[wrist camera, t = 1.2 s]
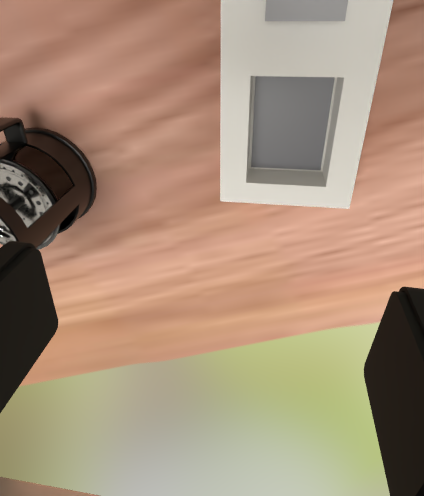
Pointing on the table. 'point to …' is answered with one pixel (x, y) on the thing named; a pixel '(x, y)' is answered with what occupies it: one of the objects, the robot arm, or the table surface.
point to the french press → (40, 186)
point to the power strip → (297, 97)
